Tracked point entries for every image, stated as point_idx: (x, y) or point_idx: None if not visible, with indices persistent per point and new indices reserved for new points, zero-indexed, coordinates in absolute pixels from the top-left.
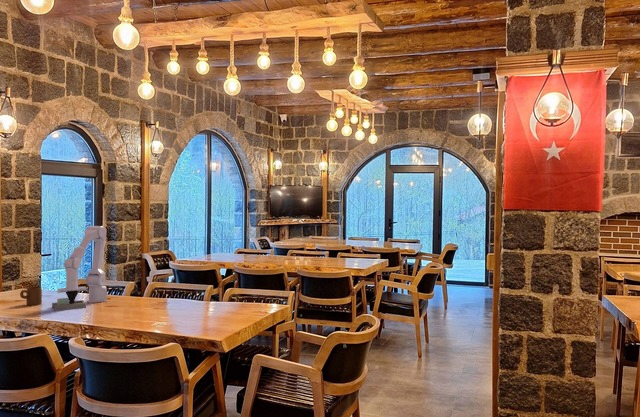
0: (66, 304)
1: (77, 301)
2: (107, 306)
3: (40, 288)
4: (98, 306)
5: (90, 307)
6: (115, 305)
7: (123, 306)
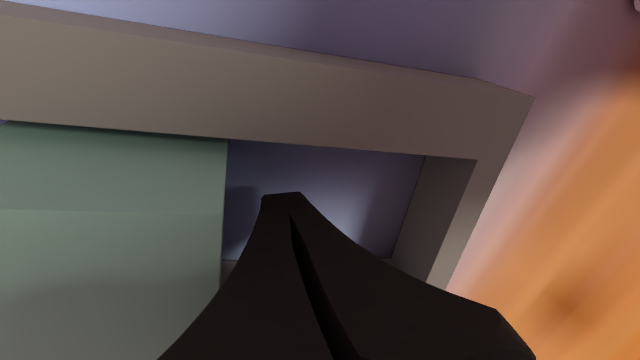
0: None
1: (420, 154)
2: (548, 307)
3: None
4: (509, 278)
5: None
6: (609, 294)
7: (598, 344)
